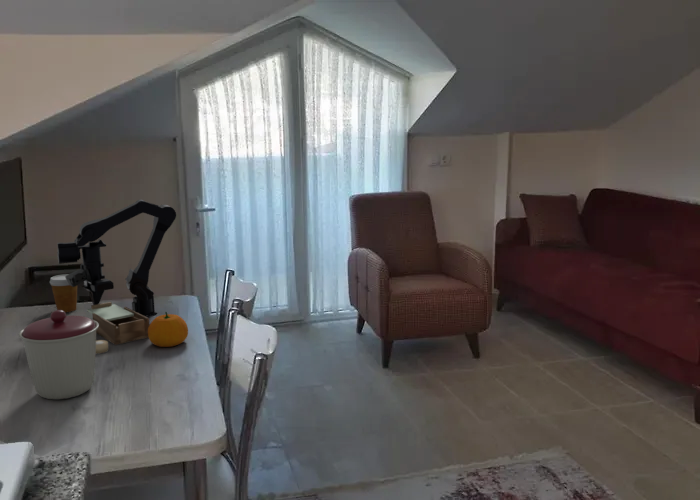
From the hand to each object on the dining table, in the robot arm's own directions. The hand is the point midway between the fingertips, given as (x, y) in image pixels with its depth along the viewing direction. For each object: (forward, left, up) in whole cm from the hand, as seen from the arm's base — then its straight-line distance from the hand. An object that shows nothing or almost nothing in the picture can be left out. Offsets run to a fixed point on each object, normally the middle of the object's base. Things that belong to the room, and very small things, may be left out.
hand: (95, 306), depth 228 cm
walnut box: (0, +20, -5) cm, 21 cm away
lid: (0, +12, 0) cm, 12 cm away
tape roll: (+11, +30, -5) cm, 32 cm away
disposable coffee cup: (+3, -20, -5) cm, 21 cm away
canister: (+29, +54, -5) cm, 61 cm away
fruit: (-7, +38, -5) cm, 39 cm away
